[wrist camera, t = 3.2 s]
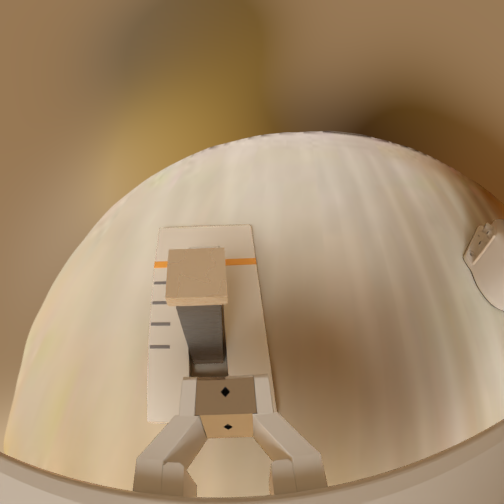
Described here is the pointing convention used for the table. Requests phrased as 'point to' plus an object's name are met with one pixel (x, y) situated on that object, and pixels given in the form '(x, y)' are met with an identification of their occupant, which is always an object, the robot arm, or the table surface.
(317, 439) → the table surface
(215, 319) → the fader tab
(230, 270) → the console
